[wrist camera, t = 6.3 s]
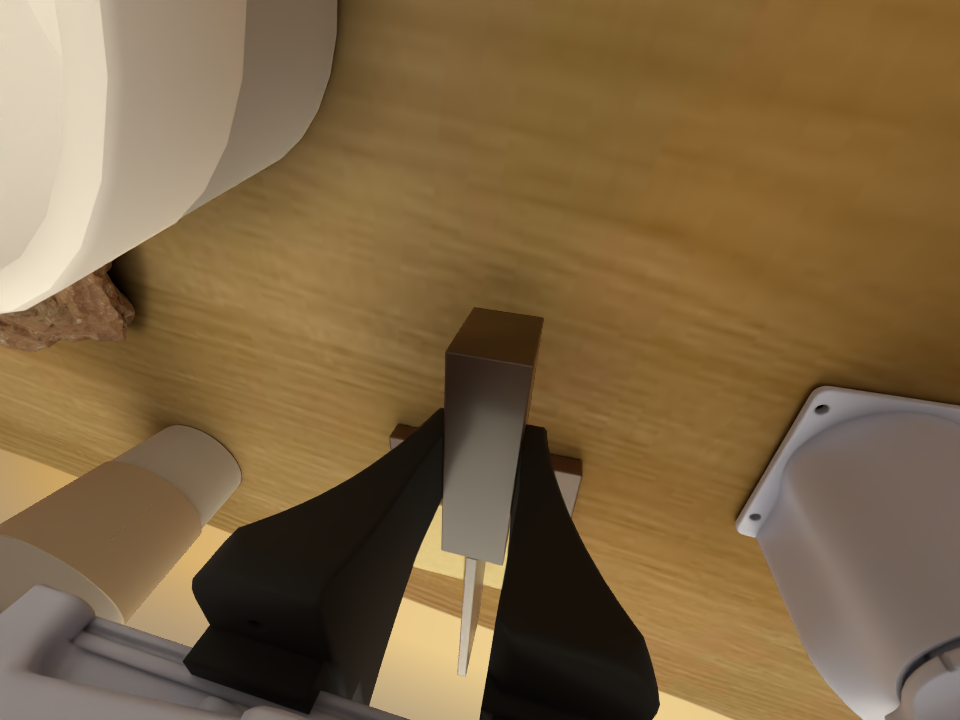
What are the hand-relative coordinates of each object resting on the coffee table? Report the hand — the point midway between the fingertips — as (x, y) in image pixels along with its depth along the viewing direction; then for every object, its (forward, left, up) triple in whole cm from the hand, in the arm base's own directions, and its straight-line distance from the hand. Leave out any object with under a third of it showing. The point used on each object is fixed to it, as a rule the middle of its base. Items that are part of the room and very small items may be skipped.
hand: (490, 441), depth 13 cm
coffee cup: (-14, +23, -8) cm, 28 cm away
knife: (-5, 0, -1) cm, 5 cm away
